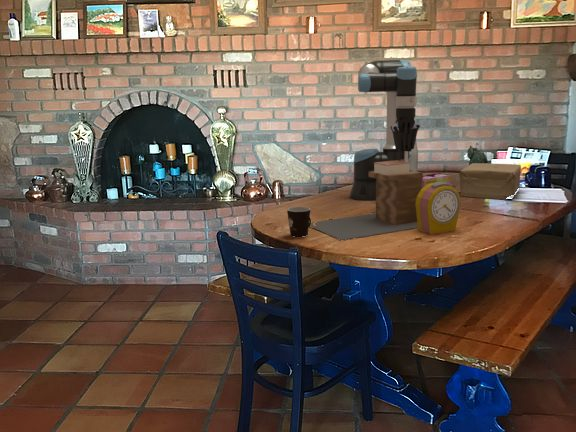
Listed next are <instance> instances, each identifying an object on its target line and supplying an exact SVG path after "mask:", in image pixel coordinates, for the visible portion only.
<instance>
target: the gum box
mask: <svg viewBox="0 0 576 432" xmlns="http://www.w3.org/2000/svg"><path fill="white" fill-rule="evenodd" d="M437 182H443V183H448V184H450V187H452V174H448V175H446V174H443V173H441V172H437V173H430V174H425V175H423V178H422V188H423V187H424V186H426V185H428V184H431V183H437Z"/></svg>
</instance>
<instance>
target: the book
mask: <svg viewBox="0 0 576 432" xmlns="http://www.w3.org/2000/svg"><path fill="white" fill-rule="evenodd" d="M374 173H379V174H383V175H393V174H402V173H409V162H403V161H398V160H395V161H384V162H374Z"/></svg>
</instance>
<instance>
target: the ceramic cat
mask: <svg viewBox="0 0 576 432" xmlns="http://www.w3.org/2000/svg"><path fill="white" fill-rule="evenodd" d="M475 146H477V147H479V143H476V144H475ZM477 147H473V146H472V145H470V146H469V148H468V149H467V153H466V155H467V158H468V159H469V163H468V166H469V165H470V164H472V163H488V160H489V159H488V157H487V155H486V153H485V151H483V150H481V149H480V150H479V148H477ZM488 164H489V163H488Z"/></svg>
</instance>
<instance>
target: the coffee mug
mask: <svg viewBox="0 0 576 432" xmlns="http://www.w3.org/2000/svg"><path fill="white" fill-rule="evenodd" d="M286 211H287V212H286V213H287V219H288V225H289V226H288V227H289V233H290V234H289V235H290V237H291V236H295V237H302V236H306V235H308V236H309V234H308V233H309V228H310V227H309V226H310V224H311V222H312V219H311V217H310V216H311V208H310V207H307V206H291V207H288V208H287V209H286ZM295 237H294V238H295ZM306 237H307V236H306ZM302 238H303V237H302Z"/></svg>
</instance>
